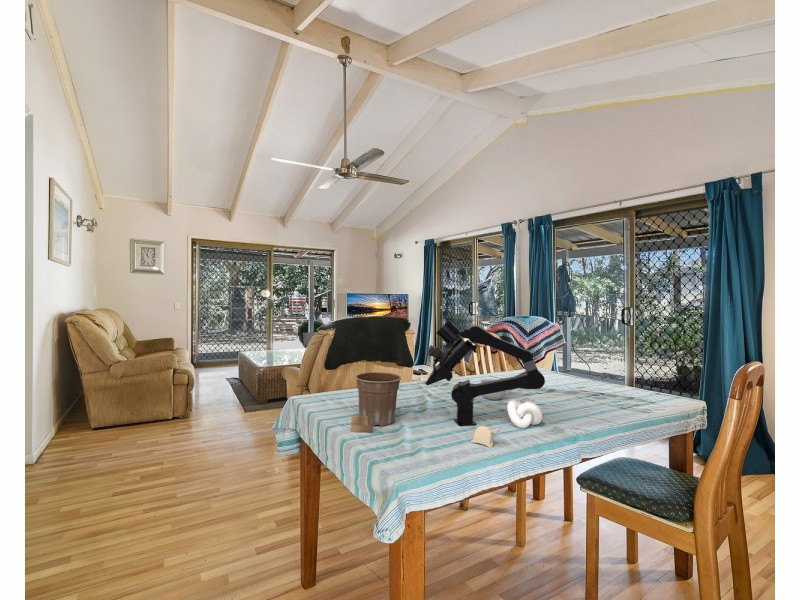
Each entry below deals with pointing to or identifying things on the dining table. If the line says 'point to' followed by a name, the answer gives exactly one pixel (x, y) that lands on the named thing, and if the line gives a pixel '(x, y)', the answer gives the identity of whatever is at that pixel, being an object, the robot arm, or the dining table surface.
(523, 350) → the robot arm
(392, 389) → the plant pot
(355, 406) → the dining table surface
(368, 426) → the wooden block
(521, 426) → the white knot sculpture
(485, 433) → the decorative ornament
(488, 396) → the teacup
